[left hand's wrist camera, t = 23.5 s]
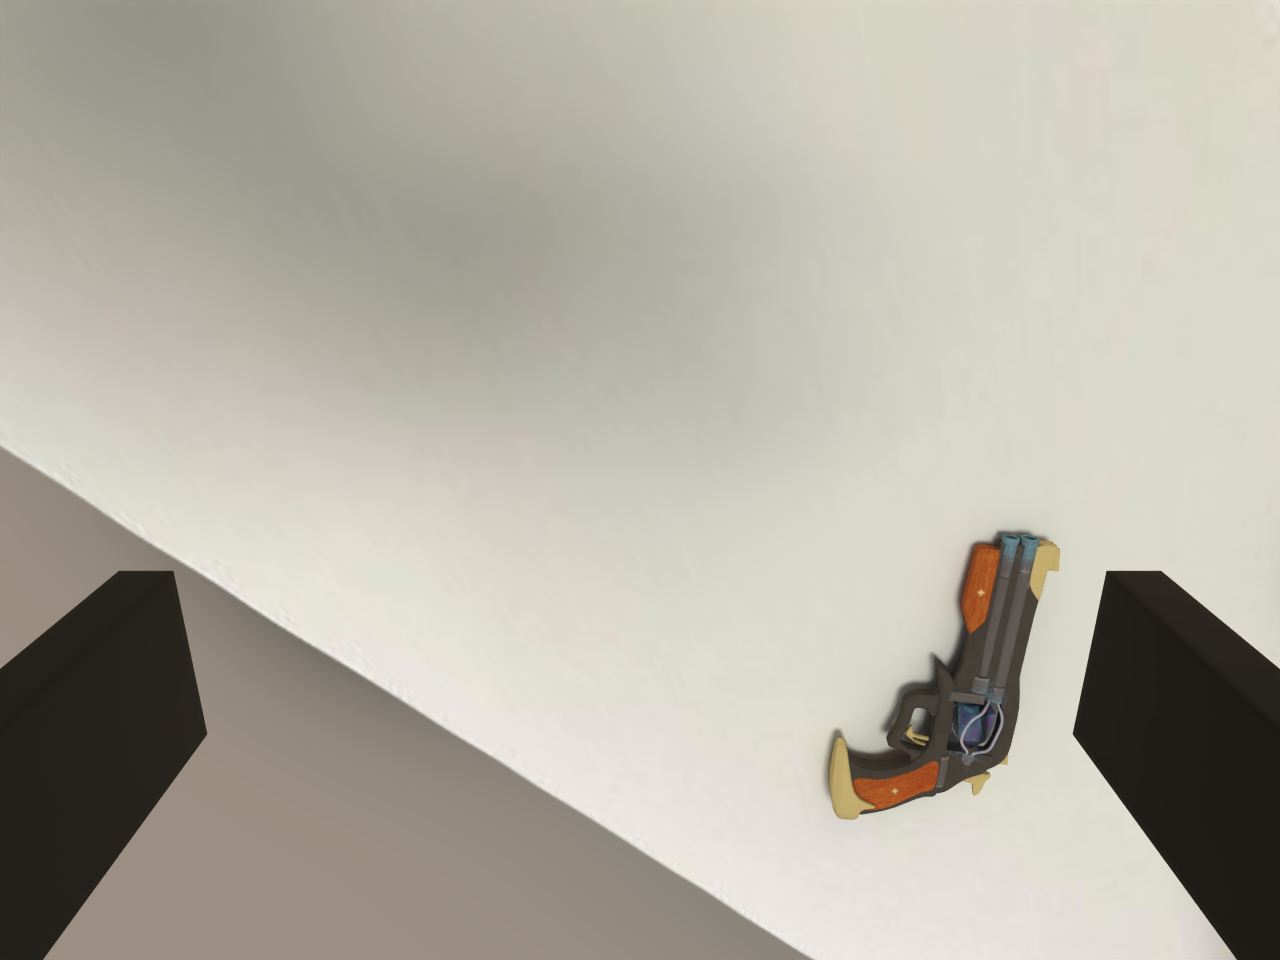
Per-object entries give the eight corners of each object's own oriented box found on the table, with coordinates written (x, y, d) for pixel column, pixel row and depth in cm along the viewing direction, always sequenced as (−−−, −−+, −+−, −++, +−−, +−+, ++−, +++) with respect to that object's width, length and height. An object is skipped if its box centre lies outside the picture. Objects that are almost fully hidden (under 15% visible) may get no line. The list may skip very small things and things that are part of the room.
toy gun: (825, 827, 53) (997, 852, 52) (878, 527, 47) (1071, 550, 47) (821, 799, 55) (985, 823, 55) (871, 511, 50) (1054, 532, 49)
